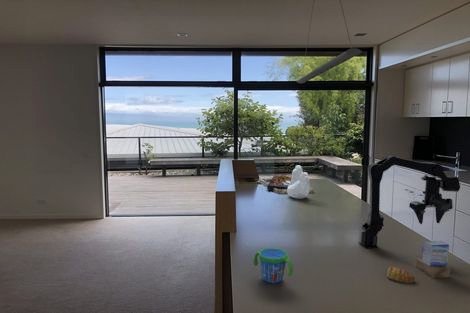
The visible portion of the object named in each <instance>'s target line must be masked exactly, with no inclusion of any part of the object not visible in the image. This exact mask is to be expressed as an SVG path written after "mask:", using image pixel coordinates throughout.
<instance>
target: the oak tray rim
mask: <svg viewBox="0 0 470 313" xmlns="http://www.w3.org/2000/svg"><path fill="white" fill-rule="evenodd" d="M271 179H272V178H259V179H258V182H259V183H260V185H261V184H262V185H263V186H265V187H266V188H267V186H268V184H269V182H270V181H271ZM273 192H274V193H275V194H277V195H278V194H279V195H281V194H285V195H286V194H287V195H288V193H287V190H278V189H276V188H274V190H273V191H272V193H273ZM313 193H315V189H314V188H313V187H311V186H310V187H309V193H308V194H313Z"/></svg>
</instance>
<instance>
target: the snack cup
mask: <svg viewBox="0 0 470 313" xmlns="http://www.w3.org/2000/svg"><path fill="white" fill-rule="evenodd" d="M258 258H259V260H258ZM291 260H292V259H290V258H289V256H288V253H287V252H286V251H285V250H283V249H280V248H274V247H273V248H271V247H269V248H263V249H261V250H259V251H258V252H256V253H255V255H254V258H253V266H254V267H257V266H258V265H259V262H260V269H261V270H260V271H261V277H262V280H263V281H264V282H266V283H269V284H278V283H281V282H282V281H283V279H284V273H285V269H286V263H287V264H288V268H289V269H288V270H289V271H288V277H289V278H290V277H291V276H292V275H293V272H294V268H293V267H294V266H293V263H292V261H291Z"/></svg>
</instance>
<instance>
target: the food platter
mask: <svg viewBox="0 0 470 313" xmlns="http://www.w3.org/2000/svg"><path fill="white" fill-rule="evenodd" d="M291 177H292V175H291V176H289V175H286V174H285V175H284V174H279V175H273V177H271V176H270V178H269V179H271V181H270V182H268V186H267V187H266V188H267V191H270V192H271V191H272V192H273V190H274V188H276V189H278V190H287V188H288V186H289V183H290V181H291Z"/></svg>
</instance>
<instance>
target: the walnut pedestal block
mask: <svg viewBox="0 0 470 313" xmlns="http://www.w3.org/2000/svg"><path fill="white" fill-rule="evenodd" d="M415 266H416V268H417V269H419V270H420V271H422V272H423V273H425V274H426V275H427V276H430V277H431V278H433V279H441V278H442V279H443V278H450V277H451V270H452V269H451V267H449V266H448V265H443V266H429V265H427V264H425V263H424V262H422V258H421V257H420V258H416V265H415Z"/></svg>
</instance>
